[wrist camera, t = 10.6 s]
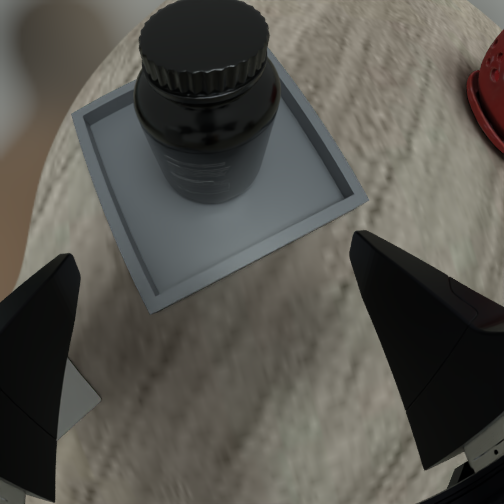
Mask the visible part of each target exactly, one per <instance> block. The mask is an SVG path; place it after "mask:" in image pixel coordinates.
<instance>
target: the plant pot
mask: <svg viewBox="0 0 504 504" xmlns="http://www.w3.org/2000/svg"><path fill="white" fill-rule="evenodd" d="M467 95H468V99H469V103H470V106H471V109H472V111H473V113H474V115H475V117H476V119H477V121H478V123H479V125H480V127H481V128H482V130H483V131H484V133H485V134H486V135H487V137H488V138H489V139H490V140H491V142H492V143H493V144H494V145H495V146H496V147H497V148H498V149H499V150H500V151H501V152H502V153H504V30H503V31H502V32H501V33H500V34H499V35H498V36H497V38H496V39H495V40H494V42H493V43H492V45H491V46H490V48H489V49H488V51H487V53H486V55H485V57H484V59H483V61H482V64H481V68H480V70H477V71H474V72H472V73H471V74H470V76H469V77H468V80H467Z"/></svg>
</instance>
